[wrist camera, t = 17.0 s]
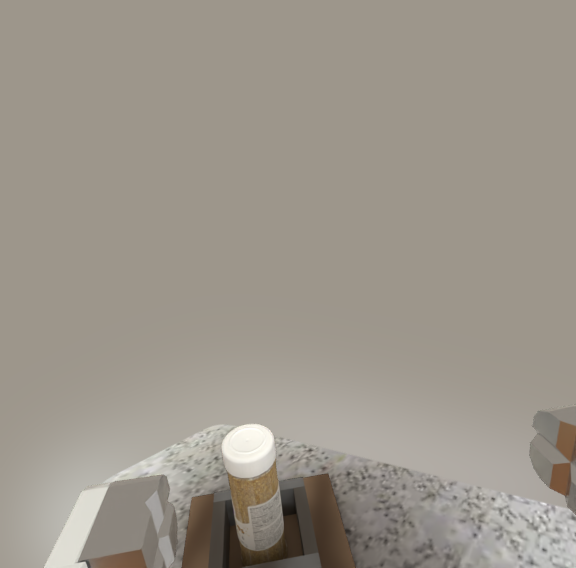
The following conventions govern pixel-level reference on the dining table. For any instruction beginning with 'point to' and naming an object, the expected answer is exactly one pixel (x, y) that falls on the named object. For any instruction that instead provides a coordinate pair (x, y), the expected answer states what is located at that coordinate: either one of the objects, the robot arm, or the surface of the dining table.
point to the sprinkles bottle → (255, 493)
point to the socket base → (297, 529)
